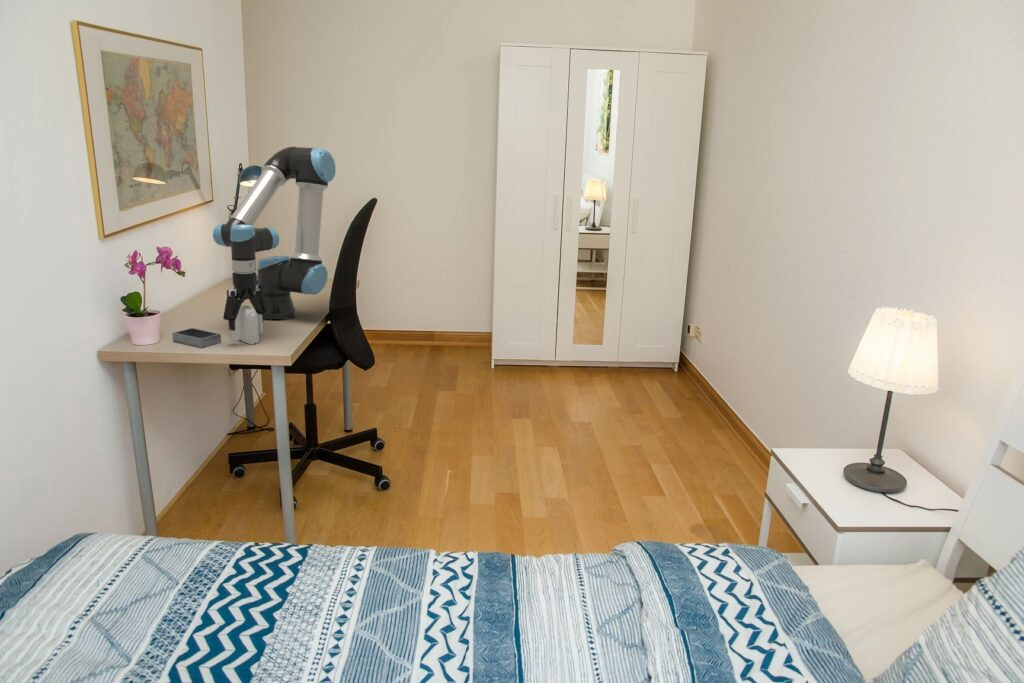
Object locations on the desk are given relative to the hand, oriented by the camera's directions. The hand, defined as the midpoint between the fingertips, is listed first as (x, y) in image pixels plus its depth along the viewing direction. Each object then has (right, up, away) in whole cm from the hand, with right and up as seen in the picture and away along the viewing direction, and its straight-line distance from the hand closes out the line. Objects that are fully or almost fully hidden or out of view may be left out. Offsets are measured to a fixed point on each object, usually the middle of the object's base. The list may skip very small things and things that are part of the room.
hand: (247, 335), depth 251 cm
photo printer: (0, -2, +1) cm, 2 cm away
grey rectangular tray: (-15, -2, -4) cm, 16 cm away
